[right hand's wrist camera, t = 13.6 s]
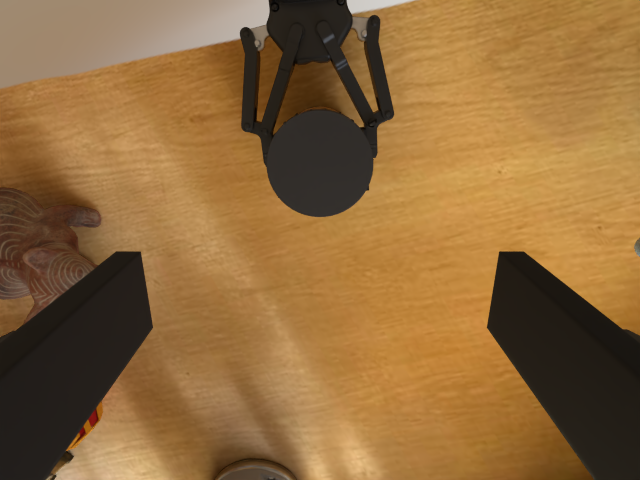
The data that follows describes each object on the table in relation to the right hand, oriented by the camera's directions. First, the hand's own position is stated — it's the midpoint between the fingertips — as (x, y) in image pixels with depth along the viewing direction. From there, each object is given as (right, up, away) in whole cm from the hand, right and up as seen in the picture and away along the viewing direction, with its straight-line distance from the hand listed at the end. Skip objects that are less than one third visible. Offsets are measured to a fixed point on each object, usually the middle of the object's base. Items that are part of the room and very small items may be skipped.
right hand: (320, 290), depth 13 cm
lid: (0, +8, +22) cm, 23 cm away
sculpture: (-34, +2, +42) cm, 54 cm away
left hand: (0, +7, +33) cm, 34 cm away
